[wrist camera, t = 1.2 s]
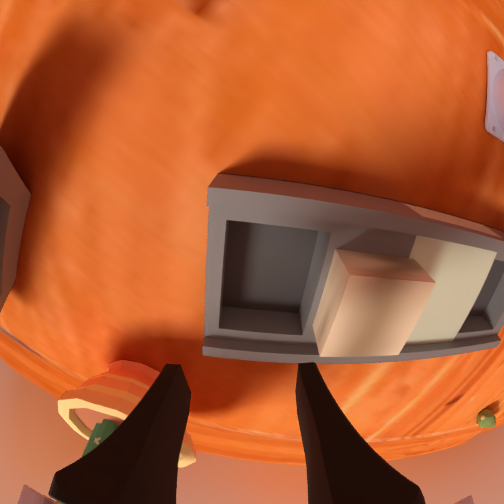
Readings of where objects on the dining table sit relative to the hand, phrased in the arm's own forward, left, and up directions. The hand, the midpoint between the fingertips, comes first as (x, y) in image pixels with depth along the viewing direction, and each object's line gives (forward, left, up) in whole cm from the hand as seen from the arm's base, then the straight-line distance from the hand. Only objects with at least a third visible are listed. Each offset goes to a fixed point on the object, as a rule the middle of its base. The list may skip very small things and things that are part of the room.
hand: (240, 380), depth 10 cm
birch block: (-8, 0, -7) cm, 11 cm away
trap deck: (-13, 0, -10) cm, 17 cm away
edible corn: (-66, +39, -11) cm, 77 cm away
